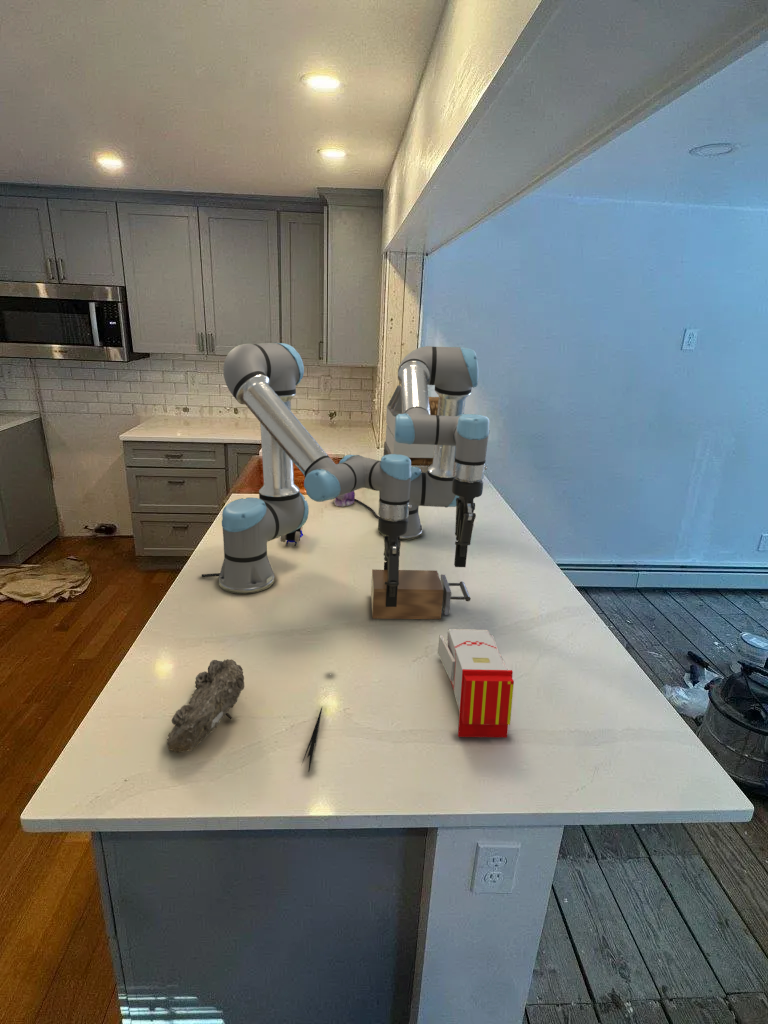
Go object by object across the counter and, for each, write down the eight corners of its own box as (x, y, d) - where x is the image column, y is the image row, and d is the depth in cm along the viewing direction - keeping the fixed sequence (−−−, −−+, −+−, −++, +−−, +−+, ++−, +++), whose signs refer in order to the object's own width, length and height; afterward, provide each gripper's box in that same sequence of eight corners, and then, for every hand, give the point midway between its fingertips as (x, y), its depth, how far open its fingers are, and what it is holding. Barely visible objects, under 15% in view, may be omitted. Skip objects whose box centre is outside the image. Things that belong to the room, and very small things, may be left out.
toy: (488, 613, 130) (523, 677, 101) (484, 667, 133) (517, 744, 104) (435, 612, 130) (455, 676, 101) (432, 666, 133) (451, 743, 103)
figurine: (338, 508, 222) (338, 471, 216) (328, 500, 230) (328, 464, 225) (360, 505, 226) (361, 469, 221) (349, 498, 234) (350, 462, 229)
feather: (331, 679, 122) (336, 673, 122) (307, 777, 96) (313, 769, 95) (324, 675, 122) (329, 669, 121) (298, 772, 95) (304, 764, 95)
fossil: (192, 660, 117) (244, 628, 112) (224, 691, 120) (276, 661, 115) (142, 746, 98) (202, 712, 93) (182, 779, 101) (242, 748, 96)
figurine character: (300, 552, 184) (305, 530, 197) (300, 532, 181) (305, 511, 194) (280, 552, 184) (286, 530, 197) (279, 531, 180) (285, 510, 194)
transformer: (382, 463, 289) (386, 382, 275) (445, 464, 293) (451, 384, 279) (390, 482, 257) (394, 392, 243) (460, 483, 261) (468, 394, 247)
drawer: (462, 596, 156) (464, 574, 154) (469, 615, 147) (472, 592, 144) (383, 595, 155) (384, 573, 152) (385, 614, 145) (386, 591, 143)
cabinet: (434, 598, 156) (437, 570, 153) (440, 619, 146) (443, 589, 143) (370, 597, 155) (372, 569, 152) (372, 618, 145) (373, 588, 142)
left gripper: (413, 534, 131) (408, 618, 138) (404, 501, 153) (400, 575, 160) (380, 534, 130) (377, 617, 138) (376, 501, 152) (373, 574, 160)
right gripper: (489, 486, 133) (479, 577, 141) (477, 471, 146) (469, 555, 153) (457, 486, 133) (449, 577, 141) (448, 471, 145) (441, 555, 153)
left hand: (389, 594), depth 149 cm, fingers closed on cabinet, 11 cm apart
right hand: (459, 565), depth 147 cm, fingers closed
